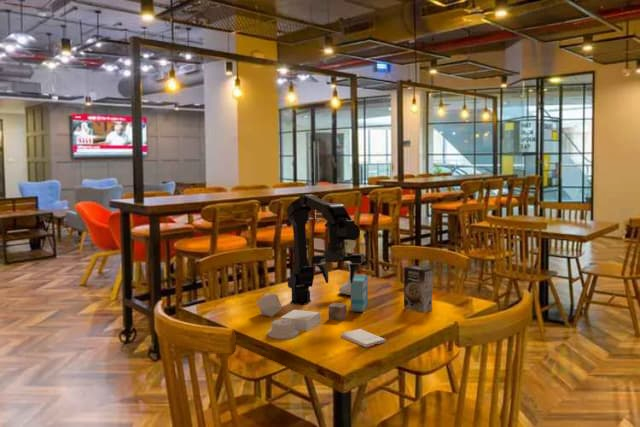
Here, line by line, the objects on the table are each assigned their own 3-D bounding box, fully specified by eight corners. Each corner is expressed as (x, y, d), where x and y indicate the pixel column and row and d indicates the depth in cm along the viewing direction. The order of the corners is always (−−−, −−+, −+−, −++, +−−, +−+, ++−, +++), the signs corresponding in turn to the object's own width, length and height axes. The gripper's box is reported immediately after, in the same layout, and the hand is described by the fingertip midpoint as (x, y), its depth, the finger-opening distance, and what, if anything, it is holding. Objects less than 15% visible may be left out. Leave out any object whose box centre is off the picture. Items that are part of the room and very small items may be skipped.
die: (286, 316, 203) (280, 292, 208) (278, 310, 196) (272, 285, 200) (266, 323, 205) (261, 299, 209) (257, 317, 197) (252, 293, 202)
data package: (362, 313, 204) (362, 281, 202) (350, 312, 205) (350, 280, 203) (367, 304, 215) (367, 274, 214) (356, 304, 216) (356, 274, 215)
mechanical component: (262, 336, 179) (287, 341, 174) (261, 323, 178) (286, 328, 173) (280, 328, 187) (304, 333, 182) (279, 315, 187) (304, 320, 182)
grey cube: (328, 319, 196) (328, 306, 196) (333, 316, 201) (333, 302, 200) (341, 321, 194) (341, 307, 194) (346, 317, 199) (346, 304, 198)
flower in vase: (370, 292, 234) (370, 234, 231) (357, 298, 224) (357, 238, 222) (344, 289, 241) (343, 232, 238) (330, 294, 231) (329, 235, 229)
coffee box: (403, 308, 209) (403, 267, 207) (412, 305, 213) (412, 264, 212) (423, 313, 202) (424, 270, 201) (433, 309, 207) (433, 267, 205)
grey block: (281, 328, 188) (280, 317, 187) (294, 320, 197) (294, 309, 196) (307, 332, 184) (307, 320, 183) (319, 323, 193) (319, 312, 192)
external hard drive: (360, 333, 182) (386, 343, 172) (341, 338, 177) (365, 349, 167) (360, 328, 182) (386, 338, 172) (340, 333, 177) (365, 343, 167)
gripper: (304, 242, 192) (306, 286, 192) (355, 240, 185) (358, 286, 186) (315, 239, 202) (317, 281, 203) (364, 237, 196) (366, 281, 196)
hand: (339, 282), depth 197 cm, fingers open, 9 cm apart
